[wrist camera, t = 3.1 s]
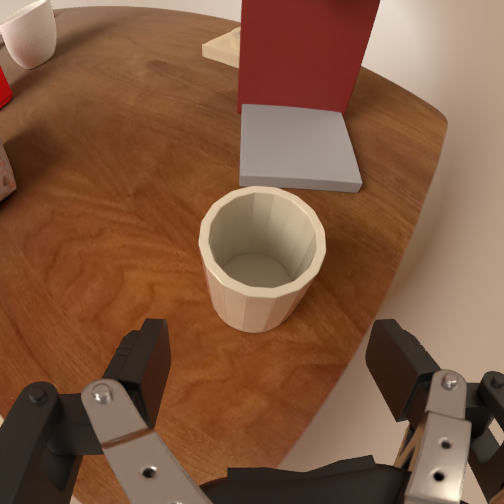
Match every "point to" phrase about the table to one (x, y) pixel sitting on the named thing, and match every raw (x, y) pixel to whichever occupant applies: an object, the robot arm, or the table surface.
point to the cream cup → (260, 255)
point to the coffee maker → (300, 91)
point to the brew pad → (224, 48)
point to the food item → (5, 175)
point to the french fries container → (4, 90)
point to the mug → (30, 34)
